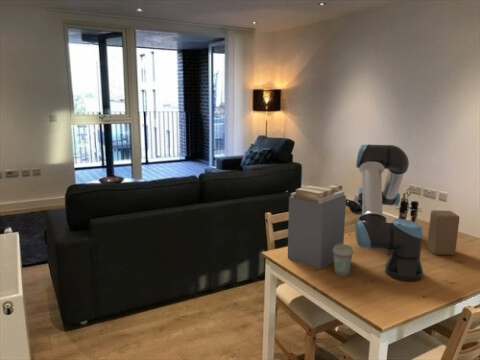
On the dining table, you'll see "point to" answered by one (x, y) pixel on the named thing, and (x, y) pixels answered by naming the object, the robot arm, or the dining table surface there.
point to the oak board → (316, 192)
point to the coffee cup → (342, 259)
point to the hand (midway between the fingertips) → (342, 195)
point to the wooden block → (443, 232)
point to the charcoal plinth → (315, 229)
